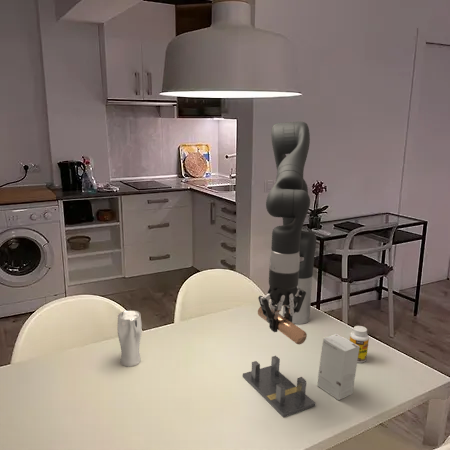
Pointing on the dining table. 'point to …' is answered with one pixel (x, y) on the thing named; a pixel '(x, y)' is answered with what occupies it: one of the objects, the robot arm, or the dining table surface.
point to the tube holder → (279, 388)
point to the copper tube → (287, 328)
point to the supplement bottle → (360, 341)
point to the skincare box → (338, 366)
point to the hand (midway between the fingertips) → (280, 328)
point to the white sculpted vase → (129, 337)
